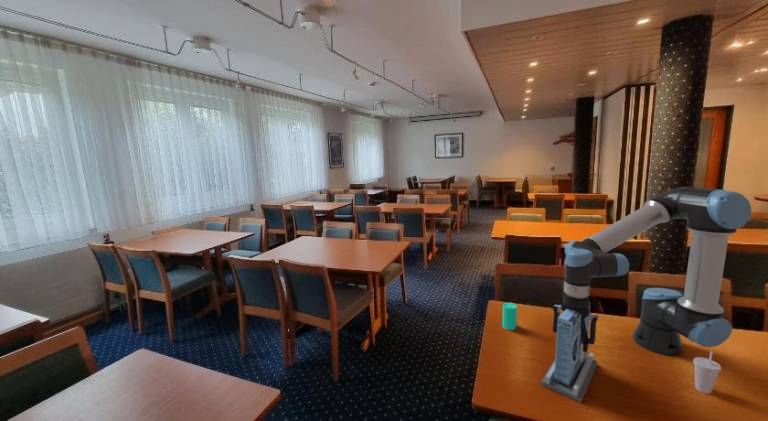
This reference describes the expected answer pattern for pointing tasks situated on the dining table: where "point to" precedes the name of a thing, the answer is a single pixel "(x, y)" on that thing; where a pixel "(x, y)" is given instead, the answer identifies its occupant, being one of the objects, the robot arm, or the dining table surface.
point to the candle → (509, 316)
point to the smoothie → (705, 373)
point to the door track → (578, 383)
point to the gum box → (569, 345)
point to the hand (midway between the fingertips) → (571, 355)
